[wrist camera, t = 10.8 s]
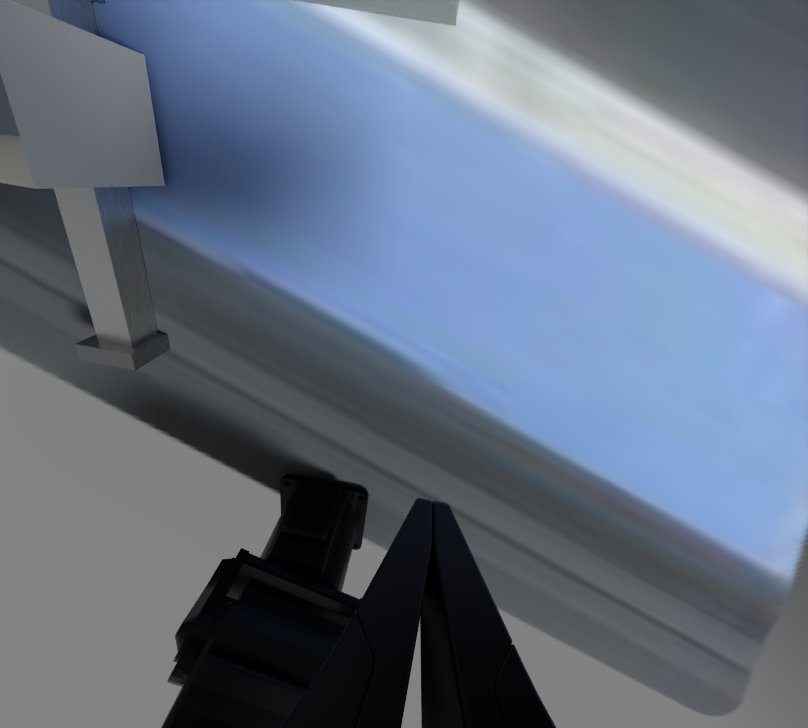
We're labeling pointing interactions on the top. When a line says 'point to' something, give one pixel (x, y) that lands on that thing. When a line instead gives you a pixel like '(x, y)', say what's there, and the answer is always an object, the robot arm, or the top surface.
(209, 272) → the top surface
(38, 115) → the carriage
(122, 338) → the rail
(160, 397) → the top surface
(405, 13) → the cabinet
